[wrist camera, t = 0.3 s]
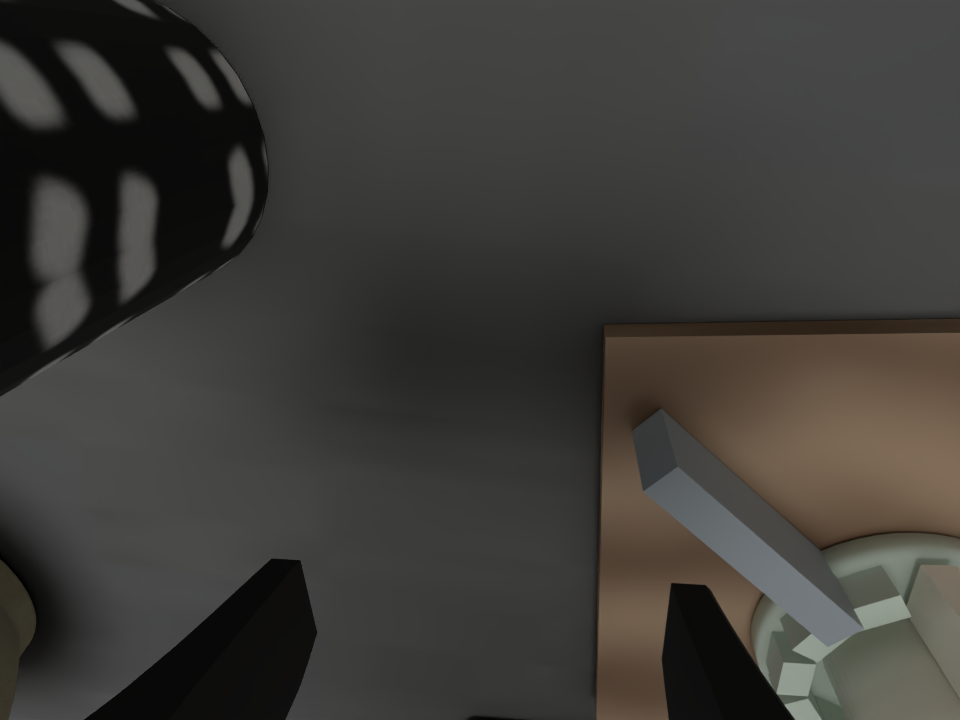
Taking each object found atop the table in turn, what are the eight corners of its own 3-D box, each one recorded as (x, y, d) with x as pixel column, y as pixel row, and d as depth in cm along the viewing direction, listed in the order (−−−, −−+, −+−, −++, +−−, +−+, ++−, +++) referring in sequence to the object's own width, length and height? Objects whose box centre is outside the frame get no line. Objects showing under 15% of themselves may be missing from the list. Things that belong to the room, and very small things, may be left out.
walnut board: (1108, 736, 23) (1130, 762, 22) (595, 697, 26) (596, 720, 25) (1377, 311, 15) (1427, 326, 15) (603, 324, 18) (605, 337, 17)
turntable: (987, 720, 22) (1045, 808, 20) (618, 693, 24) (625, 770, 22) (1136, 410, 16) (1247, 476, 14) (632, 408, 18) (644, 466, 16)
